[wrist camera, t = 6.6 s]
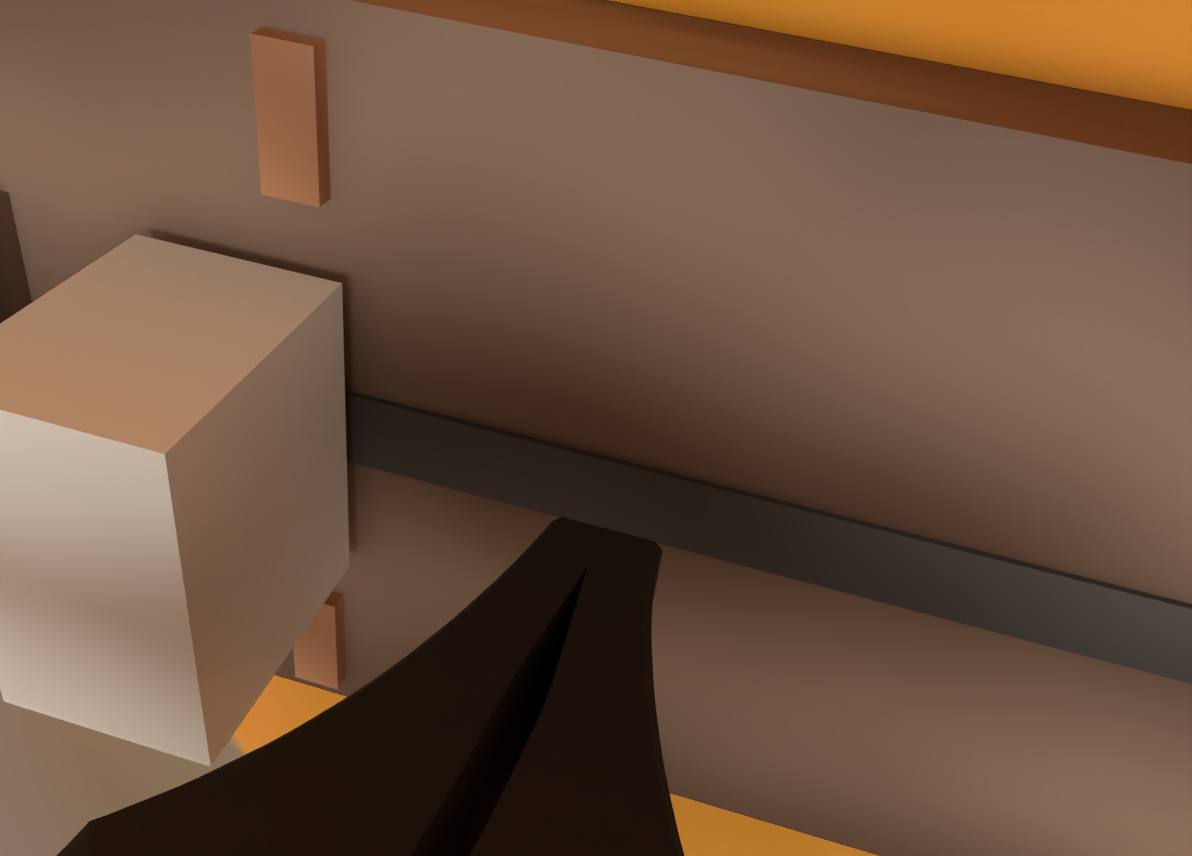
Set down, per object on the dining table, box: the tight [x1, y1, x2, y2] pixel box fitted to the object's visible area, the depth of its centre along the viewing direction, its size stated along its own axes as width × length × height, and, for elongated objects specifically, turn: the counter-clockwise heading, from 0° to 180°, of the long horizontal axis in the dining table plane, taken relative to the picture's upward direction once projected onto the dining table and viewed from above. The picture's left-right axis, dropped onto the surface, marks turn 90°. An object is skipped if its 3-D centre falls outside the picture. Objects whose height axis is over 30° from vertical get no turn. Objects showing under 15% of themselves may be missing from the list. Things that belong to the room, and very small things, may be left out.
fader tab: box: [0, 234, 350, 767], centre depth 14 cm, size 5×3×4 cm, turn 174°
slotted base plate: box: [0, 0, 1192, 856], centre depth 16 cm, size 12×24×3 cm, turn 84°
